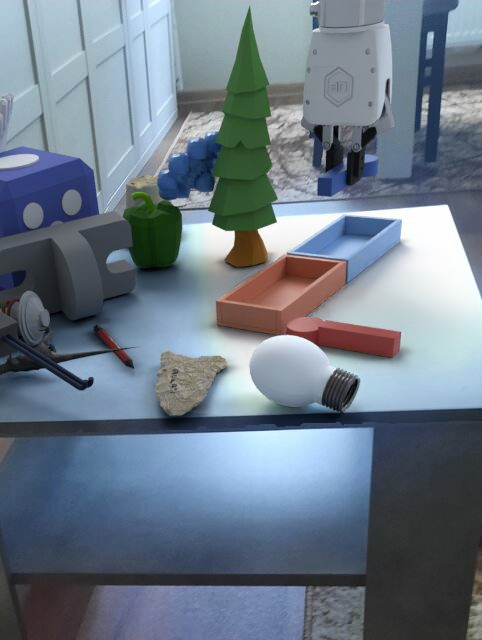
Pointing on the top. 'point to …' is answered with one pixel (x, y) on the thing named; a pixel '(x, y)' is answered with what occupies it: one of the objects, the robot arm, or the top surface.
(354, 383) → the light bulb
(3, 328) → the dark blue hooked rod
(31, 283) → the bracket
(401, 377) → the top surface
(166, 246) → the bell pepper
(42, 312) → the shock absorber
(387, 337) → the red spoon
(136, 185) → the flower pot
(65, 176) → the toy
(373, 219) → the blue bin
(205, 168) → the grapes
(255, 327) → the red bin
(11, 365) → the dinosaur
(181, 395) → the stone tool
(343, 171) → the blue spoon
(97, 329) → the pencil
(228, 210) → the decorative tree
